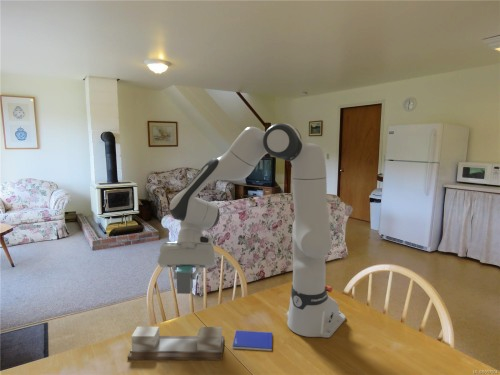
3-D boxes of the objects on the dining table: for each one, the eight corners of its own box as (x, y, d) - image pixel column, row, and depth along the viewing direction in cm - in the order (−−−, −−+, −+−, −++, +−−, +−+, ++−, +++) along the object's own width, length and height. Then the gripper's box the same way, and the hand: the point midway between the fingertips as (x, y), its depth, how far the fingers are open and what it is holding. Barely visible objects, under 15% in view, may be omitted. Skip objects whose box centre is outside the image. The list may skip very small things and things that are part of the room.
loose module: (193, 286, 112) (192, 265, 111) (190, 293, 107) (189, 271, 106) (180, 286, 112) (179, 265, 111) (177, 293, 107) (176, 271, 106)
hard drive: (232, 345, 99) (271, 347, 98) (235, 329, 107) (272, 331, 106) (232, 349, 99) (271, 352, 98) (235, 333, 107) (272, 336, 106)
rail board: (224, 338, 104) (223, 322, 103) (221, 359, 94) (220, 341, 93) (139, 338, 104) (138, 322, 103) (127, 359, 94) (126, 341, 93)
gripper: (159, 238, 114) (152, 275, 106) (216, 238, 114) (213, 275, 106) (163, 245, 119) (156, 281, 111) (217, 246, 119) (214, 282, 111)
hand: (184, 279), depth 108 cm, fingers closed on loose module, 4 cm apart
